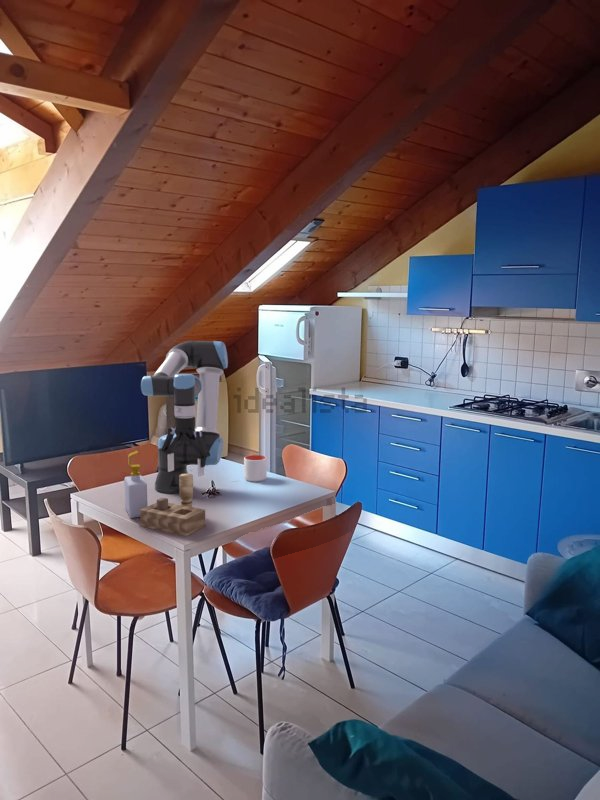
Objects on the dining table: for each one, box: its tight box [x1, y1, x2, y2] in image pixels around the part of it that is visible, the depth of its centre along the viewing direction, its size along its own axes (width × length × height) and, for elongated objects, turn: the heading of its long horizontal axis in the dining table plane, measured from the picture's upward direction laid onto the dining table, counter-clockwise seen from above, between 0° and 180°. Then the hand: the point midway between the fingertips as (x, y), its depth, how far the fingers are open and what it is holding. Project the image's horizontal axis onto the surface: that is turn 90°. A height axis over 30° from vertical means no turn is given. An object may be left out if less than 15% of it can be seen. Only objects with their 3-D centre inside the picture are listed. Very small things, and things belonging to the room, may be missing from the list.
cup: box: [243, 454, 268, 483], centre depth 277 cm, size 10×10×10 cm
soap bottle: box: [123, 450, 149, 519], centre depth 231 cm, size 12×7×23 cm, turn 23°
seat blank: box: [139, 497, 206, 537], centre depth 219 cm, size 20×11×9 cm, turn 64°
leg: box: [178, 473, 194, 507], centre depth 230 cm, size 5×5×15 cm
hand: (185, 473), depth 228 cm, fingers open, 13 cm apart
